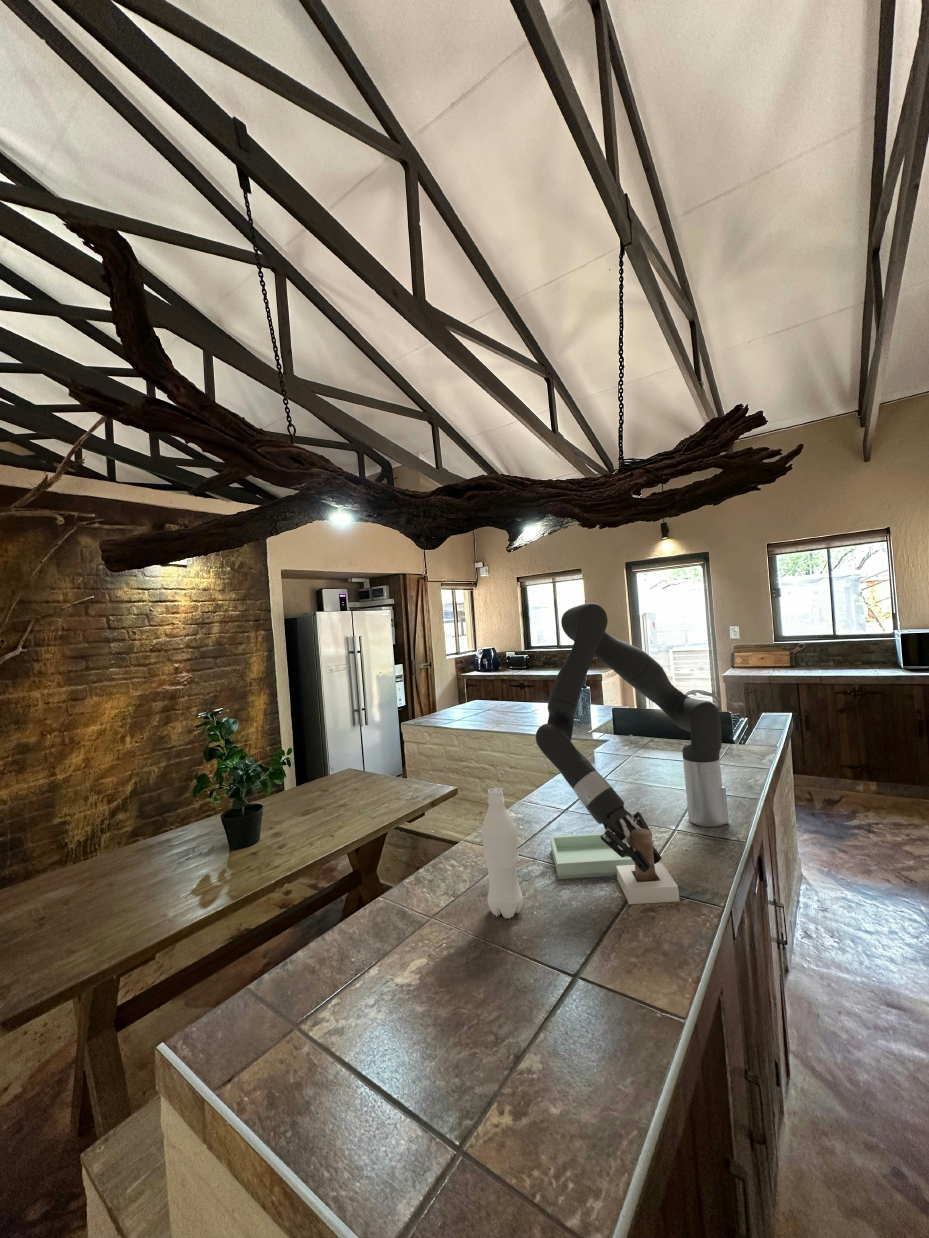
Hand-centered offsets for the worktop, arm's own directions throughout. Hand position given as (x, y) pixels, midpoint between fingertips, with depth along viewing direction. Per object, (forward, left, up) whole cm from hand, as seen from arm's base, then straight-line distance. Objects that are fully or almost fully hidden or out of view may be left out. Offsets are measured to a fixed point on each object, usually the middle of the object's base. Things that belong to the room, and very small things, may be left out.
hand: (652, 865), depth 107 cm
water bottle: (+31, +4, -6) cm, 32 cm away
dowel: (+1, -1, -6) cm, 6 cm away
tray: (+10, -15, -6) cm, 19 cm away
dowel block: (+1, -1, -6) cm, 6 cm away
